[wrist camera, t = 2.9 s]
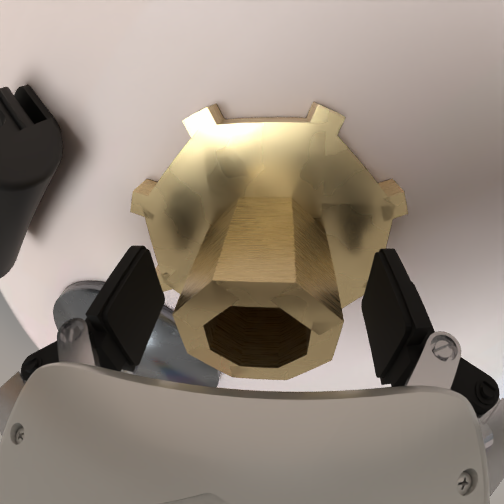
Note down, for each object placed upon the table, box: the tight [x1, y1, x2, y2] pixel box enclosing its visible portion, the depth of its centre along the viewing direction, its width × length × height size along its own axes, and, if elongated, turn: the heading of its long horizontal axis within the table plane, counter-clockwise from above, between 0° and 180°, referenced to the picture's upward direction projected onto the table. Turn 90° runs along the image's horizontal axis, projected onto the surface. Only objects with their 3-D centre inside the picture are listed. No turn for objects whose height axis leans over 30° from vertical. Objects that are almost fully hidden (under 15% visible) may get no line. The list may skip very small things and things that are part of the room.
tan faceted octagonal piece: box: [130, 102, 408, 380], centre depth 11 cm, size 12×12×6 cm
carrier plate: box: [53, 281, 220, 387], centre depth 20 cm, size 16×16×4 cm
